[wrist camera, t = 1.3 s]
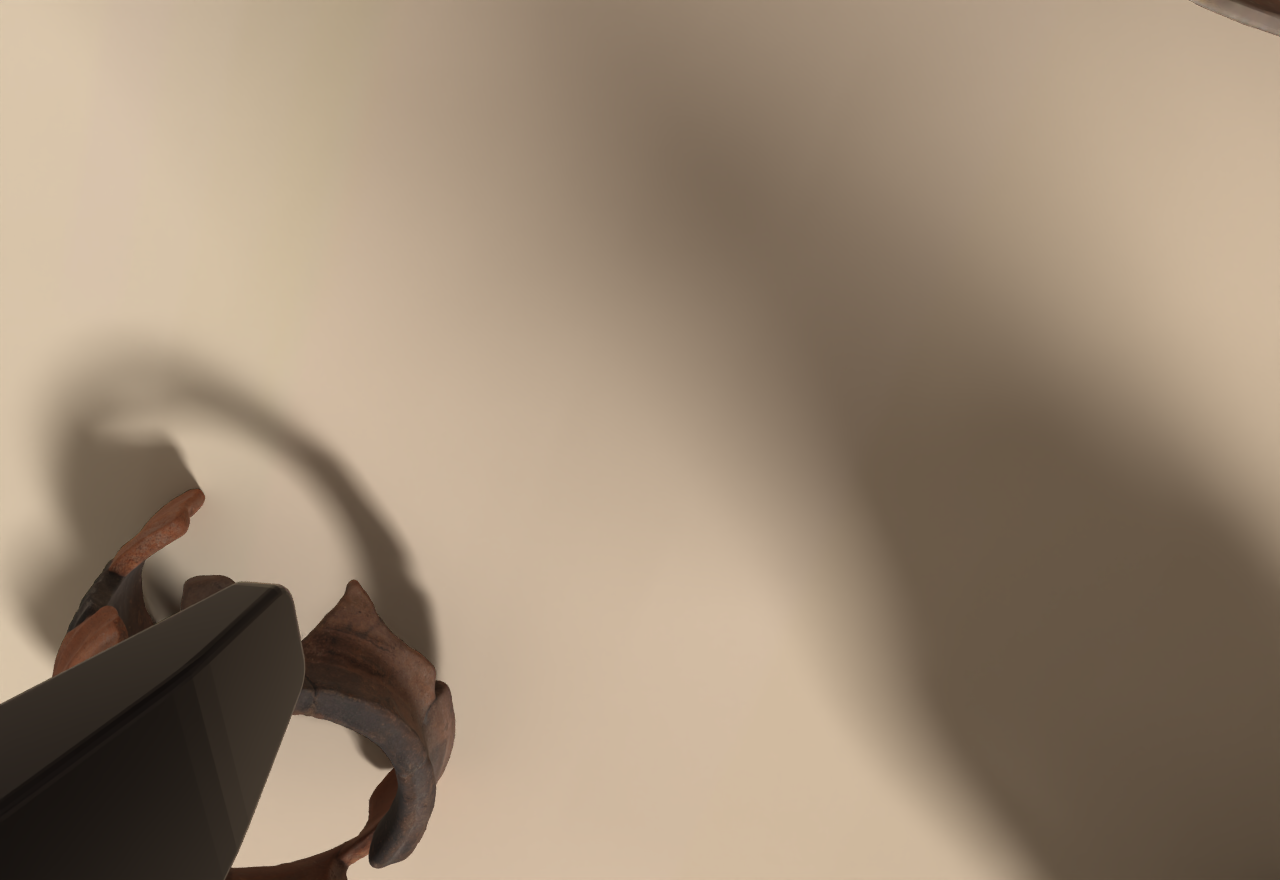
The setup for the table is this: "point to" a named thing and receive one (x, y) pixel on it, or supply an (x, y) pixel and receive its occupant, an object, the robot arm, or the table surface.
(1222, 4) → the plant saucer
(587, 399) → the table surface
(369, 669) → the brown jagged crown
